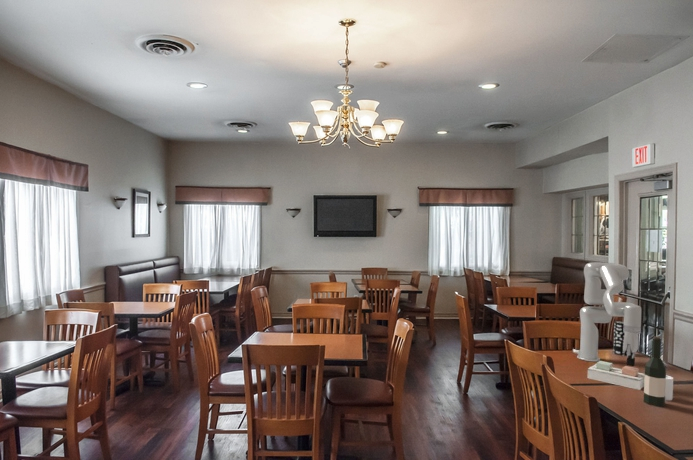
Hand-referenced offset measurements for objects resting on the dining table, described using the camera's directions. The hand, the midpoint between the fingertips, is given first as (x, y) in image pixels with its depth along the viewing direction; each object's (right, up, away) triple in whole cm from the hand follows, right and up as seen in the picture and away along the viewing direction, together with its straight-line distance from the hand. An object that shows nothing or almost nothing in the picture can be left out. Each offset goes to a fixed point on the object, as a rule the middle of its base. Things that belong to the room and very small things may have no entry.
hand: (630, 365), depth 245 cm
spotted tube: (+30, -10, +61) cm, 69 cm away
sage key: (-9, -4, +8) cm, 13 cm away
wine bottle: (-5, -10, -27) cm, 29 cm away
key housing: (-5, -9, +4) cm, 11 cm away
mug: (+4, -10, -17) cm, 20 cm away
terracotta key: (0, -4, 0) cm, 4 cm away
